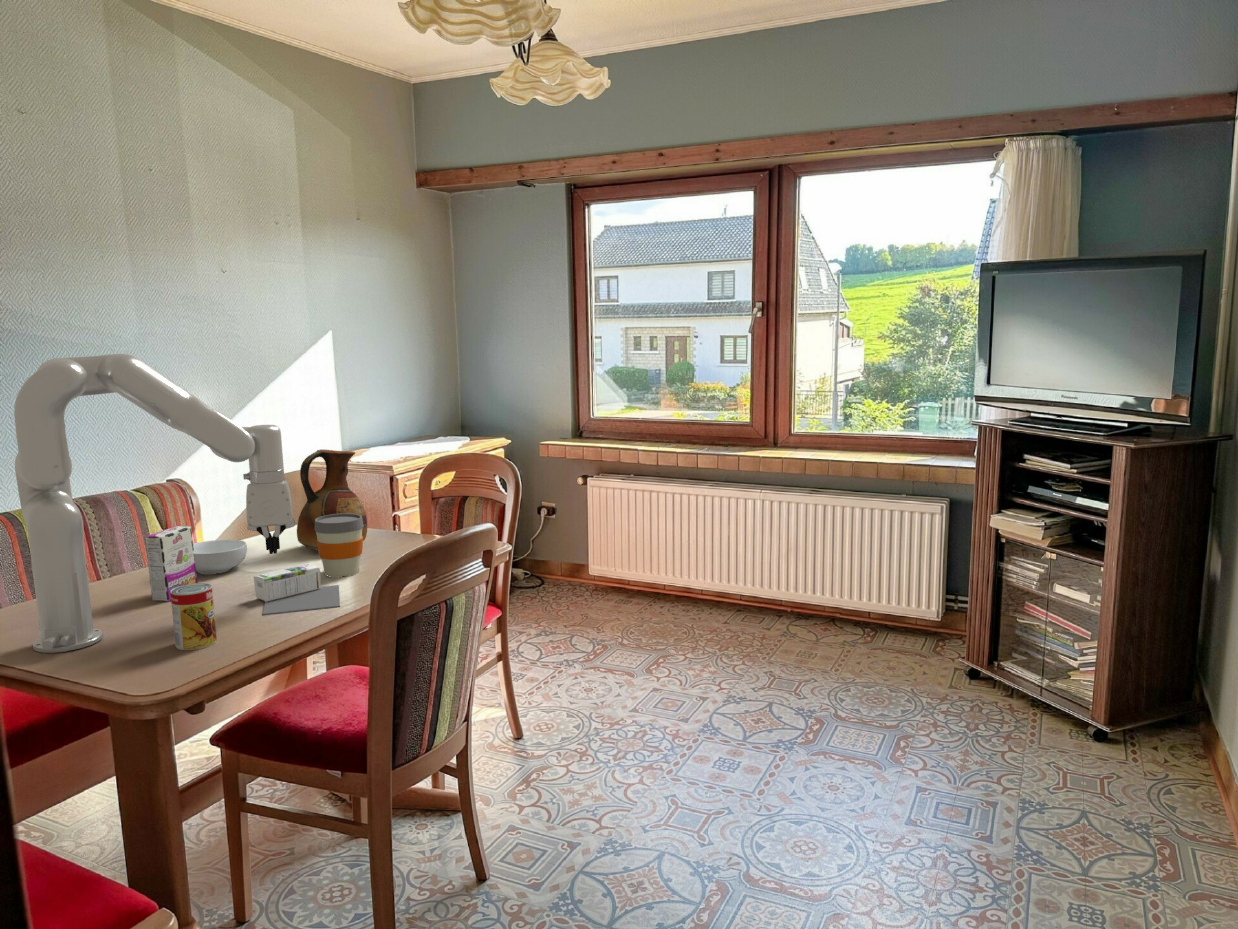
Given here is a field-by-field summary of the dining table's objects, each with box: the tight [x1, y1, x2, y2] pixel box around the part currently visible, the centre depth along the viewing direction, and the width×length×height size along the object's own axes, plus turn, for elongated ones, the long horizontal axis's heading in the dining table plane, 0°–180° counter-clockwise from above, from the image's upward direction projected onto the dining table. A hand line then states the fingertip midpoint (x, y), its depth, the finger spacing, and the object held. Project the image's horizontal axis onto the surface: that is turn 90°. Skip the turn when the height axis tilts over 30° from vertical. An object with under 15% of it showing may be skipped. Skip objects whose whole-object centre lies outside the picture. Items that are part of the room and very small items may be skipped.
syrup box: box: [253, 563, 322, 602], centre depth 218 cm, size 6×6×14 cm
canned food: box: [170, 582, 218, 651], centre depth 185 cm, size 8×8×12 cm
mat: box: [262, 584, 341, 616], centre depth 214 cm, size 18×17×1 cm
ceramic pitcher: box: [296, 448, 368, 551], centre depth 262 cm, size 20×20×30 cm
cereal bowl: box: [193, 539, 248, 575], centre depth 242 cm, size 17×17×7 cm
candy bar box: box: [144, 525, 198, 602], centre depth 219 cm, size 11×5×16 cm, turn 168°
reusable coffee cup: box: [315, 513, 364, 578], centre depth 237 cm, size 13×13×15 cm
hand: (273, 552), depth 212 cm, fingers closed
